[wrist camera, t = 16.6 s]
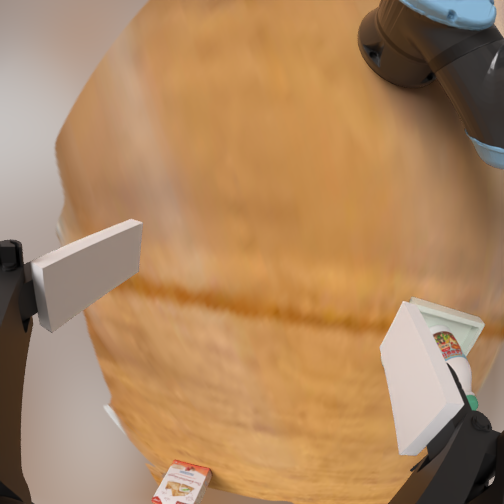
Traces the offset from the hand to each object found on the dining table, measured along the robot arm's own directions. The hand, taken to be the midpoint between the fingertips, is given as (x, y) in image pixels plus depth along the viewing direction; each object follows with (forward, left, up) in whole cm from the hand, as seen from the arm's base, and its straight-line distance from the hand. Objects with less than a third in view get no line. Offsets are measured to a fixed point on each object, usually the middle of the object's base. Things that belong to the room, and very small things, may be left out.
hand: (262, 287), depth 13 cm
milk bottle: (+18, +33, -34) cm, 51 cm away
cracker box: (+96, -8, -35) cm, 102 cm away
